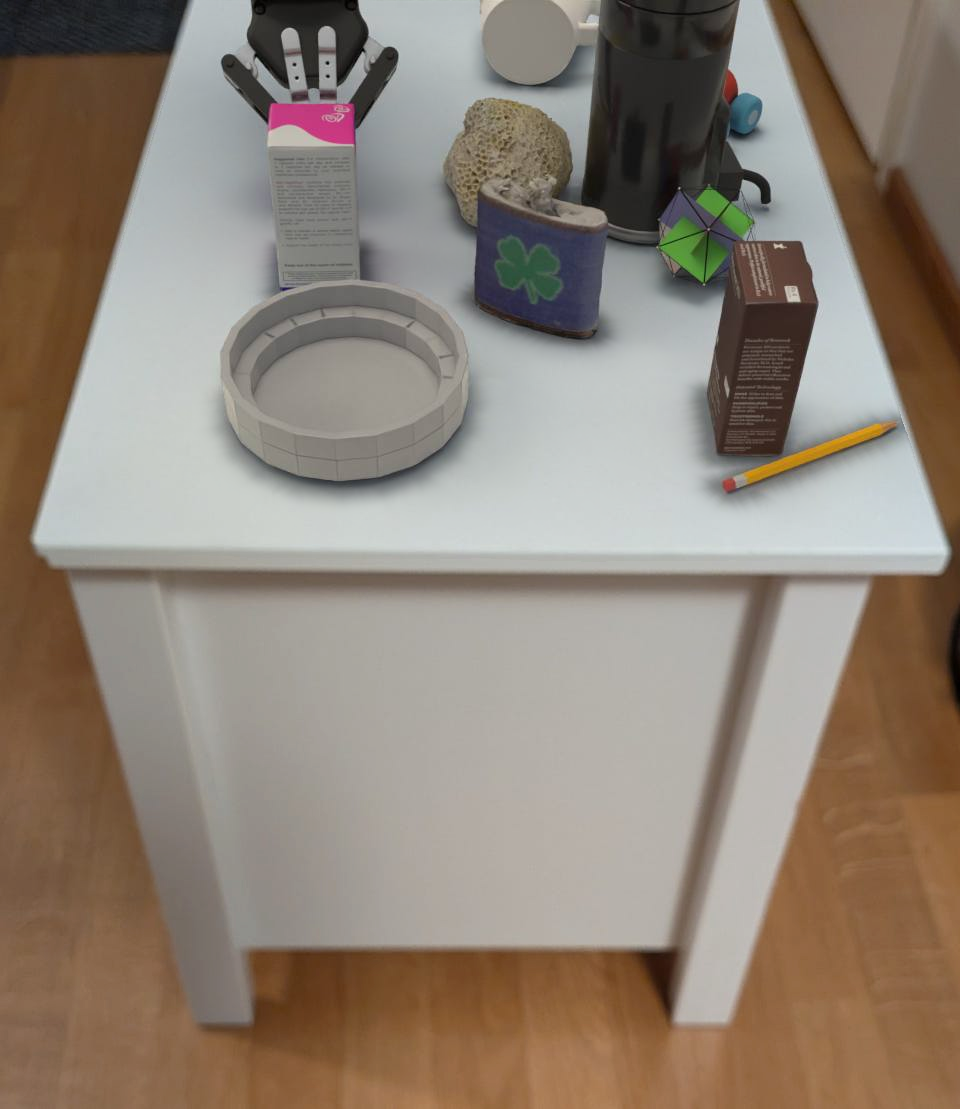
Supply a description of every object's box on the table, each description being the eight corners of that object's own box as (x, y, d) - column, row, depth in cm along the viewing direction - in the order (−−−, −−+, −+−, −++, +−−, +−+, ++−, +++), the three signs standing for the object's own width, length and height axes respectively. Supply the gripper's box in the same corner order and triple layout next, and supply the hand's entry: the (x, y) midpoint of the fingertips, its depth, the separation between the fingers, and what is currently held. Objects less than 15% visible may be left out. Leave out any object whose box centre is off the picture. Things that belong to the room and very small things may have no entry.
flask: (602, 323, 86) (617, 186, 78) (585, 347, 85) (598, 210, 77) (483, 284, 89) (486, 148, 81) (464, 307, 87) (465, 170, 79)
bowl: (449, 319, 86) (449, 271, 83) (483, 473, 76) (484, 425, 73) (226, 337, 85) (218, 288, 82) (231, 497, 75) (222, 449, 72)
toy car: (765, 125, 104) (789, 7, 97) (700, 165, 100) (720, 44, 93) (679, 85, 109) (696, -31, 101) (613, 121, 104) (625, 3, 97)
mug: (470, 81, 108) (472, -12, 102) (483, 30, 114) (485, -59, 109) (609, 92, 108) (619, 0, 102) (614, 41, 114) (624, -49, 108)
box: (700, 394, 82) (731, 237, 73) (769, 395, 82) (809, 238, 73) (710, 458, 78) (745, 300, 69) (783, 460, 78) (827, 302, 69)
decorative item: (618, 185, 90) (498, 147, 86) (558, 273, 96) (443, 242, 92) (578, 83, 97) (465, 43, 92) (525, 171, 103) (416, 138, 98)
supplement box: (363, 293, 88) (354, 145, 80) (279, 295, 88) (260, 147, 79) (363, 245, 92) (354, 99, 83) (282, 247, 92) (264, 101, 83)
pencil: (725, 478, 75) (730, 489, 75) (901, 414, 80) (906, 424, 79) (720, 482, 76) (725, 493, 76) (894, 418, 80) (899, 428, 80)
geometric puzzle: (687, 170, 82) (620, 262, 87) (769, 235, 82) (697, 323, 87) (715, 145, 88) (650, 232, 93) (791, 206, 88) (722, 290, 93)
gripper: (197, -81, 83) (224, 184, 84) (395, -88, 85) (418, 172, 86) (208, -35, 91) (232, 208, 92) (390, -43, 92) (411, 196, 93)
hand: (322, 190), depth 89 cm, fingers closed
